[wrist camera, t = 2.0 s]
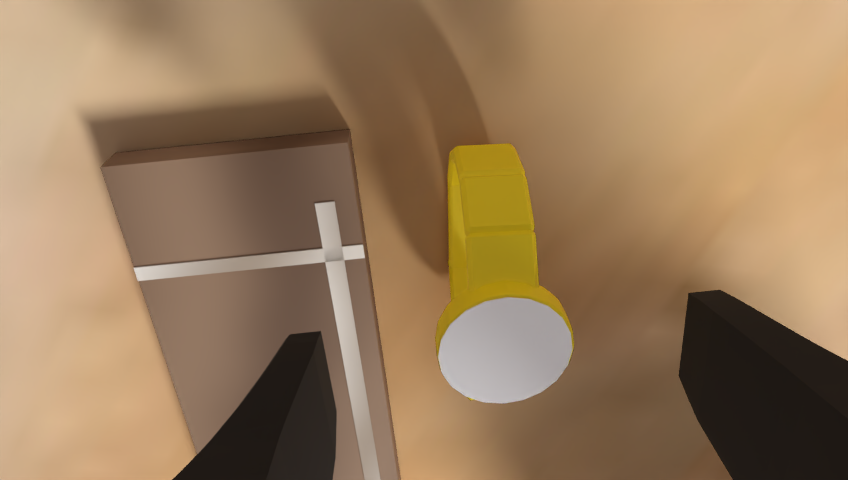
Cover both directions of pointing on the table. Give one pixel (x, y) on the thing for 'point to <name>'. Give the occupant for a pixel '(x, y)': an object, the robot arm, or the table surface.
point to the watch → (497, 285)
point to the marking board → (258, 277)
